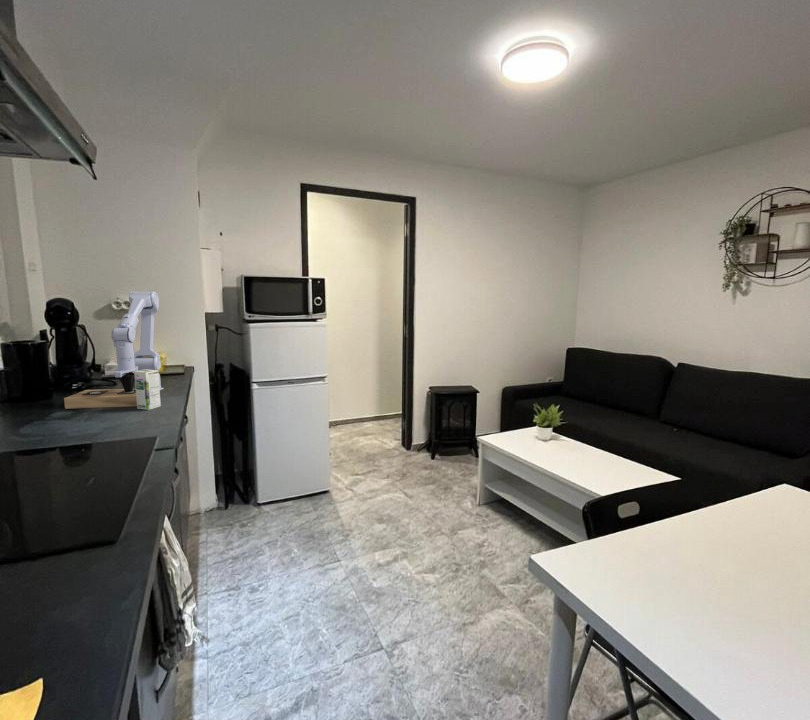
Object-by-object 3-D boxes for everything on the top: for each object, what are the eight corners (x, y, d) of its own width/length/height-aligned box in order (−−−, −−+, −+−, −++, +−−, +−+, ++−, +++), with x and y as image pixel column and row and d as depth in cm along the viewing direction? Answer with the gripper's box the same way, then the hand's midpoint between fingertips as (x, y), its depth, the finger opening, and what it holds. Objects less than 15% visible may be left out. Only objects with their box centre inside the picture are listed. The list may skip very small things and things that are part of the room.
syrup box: (136, 409, 154) (132, 371, 152) (150, 405, 160) (147, 368, 158) (148, 410, 153) (144, 372, 151) (161, 406, 158) (158, 369, 156)
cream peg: (93, 402, 163) (92, 391, 163) (103, 401, 164) (102, 391, 163) (89, 404, 160) (87, 393, 159) (98, 403, 161) (97, 393, 160)
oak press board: (86, 399, 168) (85, 389, 167) (156, 397, 172) (155, 387, 172) (65, 408, 154) (63, 397, 153) (141, 406, 159) (140, 394, 158)
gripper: (123, 355, 168) (126, 388, 170) (104, 361, 154) (108, 396, 156) (142, 355, 169) (145, 387, 171) (125, 360, 155) (128, 395, 157)
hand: (128, 391), depth 163 cm, fingers closed, pressing on teal peg
